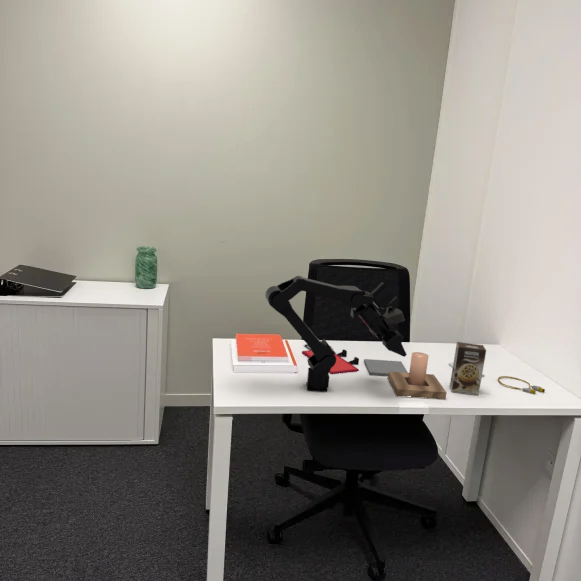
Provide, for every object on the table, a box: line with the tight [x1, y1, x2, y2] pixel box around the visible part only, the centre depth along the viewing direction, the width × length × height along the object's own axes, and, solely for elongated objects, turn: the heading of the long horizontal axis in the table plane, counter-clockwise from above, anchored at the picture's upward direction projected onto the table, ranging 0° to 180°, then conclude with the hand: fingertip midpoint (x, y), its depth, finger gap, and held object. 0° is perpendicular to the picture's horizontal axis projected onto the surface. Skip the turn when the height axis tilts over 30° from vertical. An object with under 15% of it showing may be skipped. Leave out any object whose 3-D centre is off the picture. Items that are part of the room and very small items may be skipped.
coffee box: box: [449, 341, 487, 396], centre depth 208 cm, size 9×6×16 cm
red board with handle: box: [301, 343, 360, 375], centre depth 231 cm, size 30×3×15 cm
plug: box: [408, 351, 430, 386], centre depth 207 cm, size 6×6×12 cm
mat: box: [363, 358, 409, 377], centre depth 224 cm, size 14×14×1 cm
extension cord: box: [497, 375, 546, 395], centre depth 219 cm, size 12×16×2 cm
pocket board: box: [387, 372, 447, 400], centre depth 208 cm, size 16×16×2 cm
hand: (400, 351), depth 204 cm, fingers open, 9 cm apart
